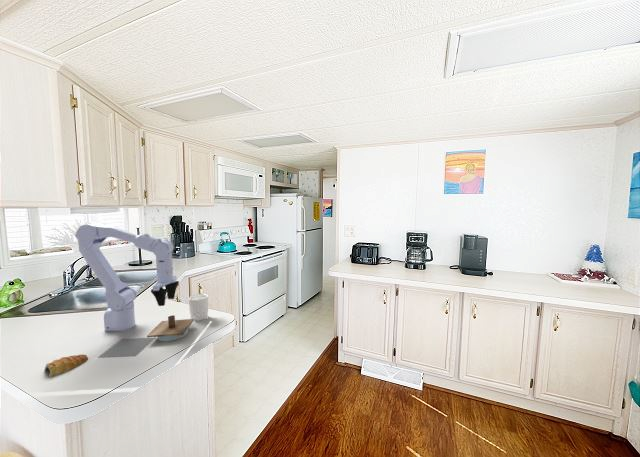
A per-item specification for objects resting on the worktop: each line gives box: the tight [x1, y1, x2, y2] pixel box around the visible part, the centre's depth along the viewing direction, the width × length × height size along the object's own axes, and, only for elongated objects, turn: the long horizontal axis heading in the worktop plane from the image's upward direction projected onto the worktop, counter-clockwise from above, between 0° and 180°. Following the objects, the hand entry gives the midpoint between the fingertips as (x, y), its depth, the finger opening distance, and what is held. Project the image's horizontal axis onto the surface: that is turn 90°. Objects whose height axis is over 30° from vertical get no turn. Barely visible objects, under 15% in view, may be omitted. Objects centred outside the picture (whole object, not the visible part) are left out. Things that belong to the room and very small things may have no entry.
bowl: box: [157, 328, 189, 342], centre depth 98 cm, size 10×10×3 cm
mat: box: [96, 337, 157, 359], centre depth 89 cm, size 12×12×1 cm
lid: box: [146, 315, 194, 338], centre depth 97 cm, size 12×12×5 cm
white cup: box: [187, 293, 209, 322], centre depth 113 cm, size 8×8×10 cm
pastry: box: [44, 354, 89, 377], centre depth 78 cm, size 9×7×4 cm
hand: (166, 302), depth 106 cm, fingers open, 7 cm apart
